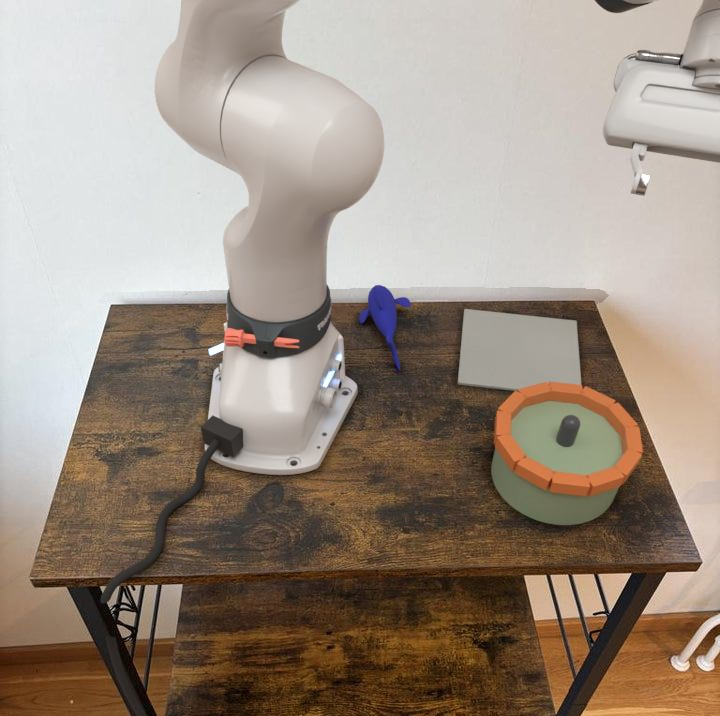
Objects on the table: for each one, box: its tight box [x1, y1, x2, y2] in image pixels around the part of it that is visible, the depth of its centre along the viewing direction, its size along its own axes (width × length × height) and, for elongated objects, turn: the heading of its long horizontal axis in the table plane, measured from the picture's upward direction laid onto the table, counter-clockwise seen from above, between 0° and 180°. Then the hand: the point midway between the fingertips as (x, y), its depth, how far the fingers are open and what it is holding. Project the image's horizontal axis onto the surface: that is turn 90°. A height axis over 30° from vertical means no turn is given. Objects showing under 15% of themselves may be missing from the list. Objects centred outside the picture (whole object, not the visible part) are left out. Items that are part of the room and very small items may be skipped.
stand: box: [490, 401, 623, 526], centre depth 82 cm, size 14×14×10 cm
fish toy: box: [358, 284, 412, 372], centre depth 99 cm, size 15×8×7 cm, turn 7°
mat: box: [457, 308, 582, 392], centre depth 100 cm, size 16×16×1 cm
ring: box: [493, 382, 644, 496], centre depth 80 cm, size 16×16×2 cm
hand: (683, 201), depth 77 cm, fingers open, 8 cm apart
